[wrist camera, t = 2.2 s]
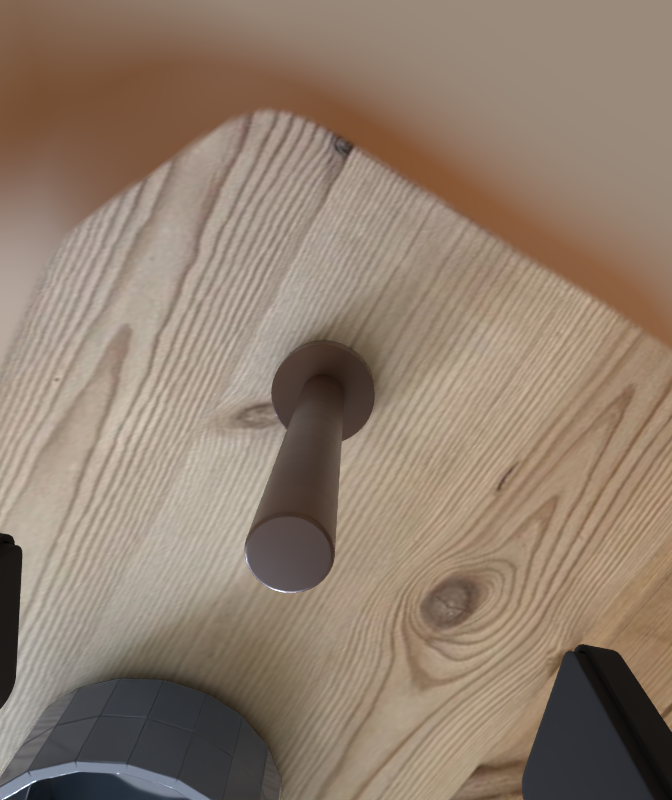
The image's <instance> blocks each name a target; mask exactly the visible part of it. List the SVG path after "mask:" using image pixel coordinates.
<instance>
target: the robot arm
mask: <svg viewBox="0 0 672 800" xmlns="http://www.w3.org/2000/svg"><path fill="white" fill-rule="evenodd" d="M21 572H22V549H21V547H20V546H17V545H15V542H14V539H13V537H12V536H10V535H8V534H3V533H0V709H1V708H2V706H3V705H4V704H5V702H6V701H7V700H8V698H9V696H10V694H11V692H12V690H13V687H14V684H15V680H16V667H17V648H18V629H19V610H20V591H21ZM522 793H523V799H524V800H672V732H671V730H670V729H669V727H668V726H667V724H666V723H665V721H664V720H663V718H662V717H661V715H660V714H659V712H658V711H657V709H656V708H655V706H654V705H653V703H652V702H651V700H650V699H649V697H648V696H647V694H646V693H645V691H644V690H643V688H642V687H641V685H640V684H639V682H638V681H637V679H636V678H635V676H634V675H633V673H632V672H631V670H630V669H629V667H628V666H627V664H626V663H625V661H624V660H623V658H622V657H621V655H620V654H619V653H618V652H616V651H614V650H610V649H605V648H599V647H594V646H589V645H584V644H581V645H578V646H577V647H576V648H575V650H574V652H573V651H568V652H567V653H566V654H565V655H564V657H563V660H562V663H561V666H560V669H559V671H558V674H557V677H556V680H555V683H554V686H553V689H552V692H551V695H550V698H549V700H548V703H547V706H546V709H545V712H544V715H543V718H542V721H541V724H540V727H539V729H538V732H537V735H536V738H535V741H534V744H533V747H532V750H531V753H530V756H529V758H528V761H527V764H526V767H525V770H524V773H523V778H522Z"/></svg>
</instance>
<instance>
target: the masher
mask: <svg viewBox="0 0 672 800" xmlns="http://www.w3.org/2000/svg"><path fill="white" fill-rule="evenodd" d="M271 393H272V403H273V407H274V411H275V413H276V415H277V417H278V419H279V420H280V422H281V423H282V425H283V426H284V427H285V428H286V429H287V431H286V434H285V437H284V439H283V442H282V445H281V447H280V450H279V453H278V456H277V458H276V461H275V464H274V466H273V469H272V472H271V474H270V477H269V480H268V482H267V485H266V488H265V490H264V493H263V496H262V498H261V501H260V504H259V506H258V509H257V512H256V514H255V517H254V520H253V522H252V525H251V528H250V530H249V533H248V536H247V538H246V542H245V549H244V550H245V558H246V562H247V565H248V567H249V569H250V571H251V572H252V574H253V575H254V576H255V577H256V579H257V580H258V581H260V582H261V583H262V584H264V585H265V586H267V587H269V588H271V589H273V590H276V591H279V592H285V593H297V592H303V591H306V590H309V589H311V588H313V587H315V586H316V585H318V584H319V583H320V582H321V581H323V580H324V579H325V577H326V576H327V575H328V574H329V572H330V570H331V568H332V566H333V563H334V557H335V543H336V526H337V510H338V493H339V477H340V460H341V444H342V441H344V440H346V439H348V438H350V437H352V436H353V435H354V434H356V433H357V432H358V431H359V430H360V429H361V428H362V427H363V426H364V425H365V423H366V422H367V420H368V419H369V417H370V414H371V412H372V409H373V405H374V395H375V392H374V384H373V379H372V375H371V373H370V370H369V368H368V366H367V364H366V363H365V361H364V360H363V359H362V358H361V357H360V356H359V355H358V354H357V353H356V352H355V351H353V350H352V349H351V348H349V347H347V346H345V345H343V344H340V343H337V342H332V341H315V342H311V343H307V344H305V345H302V346H300V347H299V348H297V349H295V350H294V351H293V352H291V353H290V354H289V355H288V356H287V357H286V358H285V360H284V361H283V362H282V364H281V365H280V367H279V369H278V371H277V372H276V375H275V377H274V380H273V384H272V392H271Z"/></svg>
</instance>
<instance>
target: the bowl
mask: <svg viewBox="0 0 672 800" xmlns="http://www.w3.org/2000/svg"><path fill="white" fill-rule="evenodd" d="M0 800H281V778H280V775H279V773H278V770H277V768H276V765H275V762H274V760H273V757H272V755H271V752H270V750H269V747H268V746H267V744H266V743H265V742H264V741H263V740H262V738H261V737H260V736H259V735H258V734H257V733H256V732H255V730H254V729H253V728H252V727H251V726H250V725H249V723H248V722H247V721H246V720H245V719H244V718H243V717H242V715H240V714H239V713H237V712H236V711H234V710H232V709H231V708H229V707H228V706H226V705H225V704H223V703H221V702H220V701H218V700H217V699H215V698H214V697H212V696H211V695H209V694H206V693H204V692H201V691H198V690H195V689H192V688H188V687H185V686H182V685H179V684H176V683H173V682H169V681H166V680H165V681H164V680H155V679H134V678H121V679H120V678H118V679H114V680H109V681H105V682H101V683H96V684H92V685H88V686H84V687H80V688H78V689H76V690H75V691H73V692H71V693H70V694H68V695H66V696H65V697H63V698H61V699H60V700H58V701H56V702H55V703H53V704H51V705H50V706H48V708H46V710H45V711H44V712H43V713H42V715H41V716H40V717H39V719H38V720H37V721H36V722H35V724H34V725H33V726H32V728H31V729H30V730H29V731H28V733H27V734H26V735H25V737H24V738H23V740H22V741H21V743H20V744H19V746H18V747H17V749H16V750H15V752H14V753H13V755H12V756H11V758H10V759H9V761H8V762H7V763H6V765H5V766H4V768H3V769H2V771H1V773H0Z"/></svg>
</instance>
